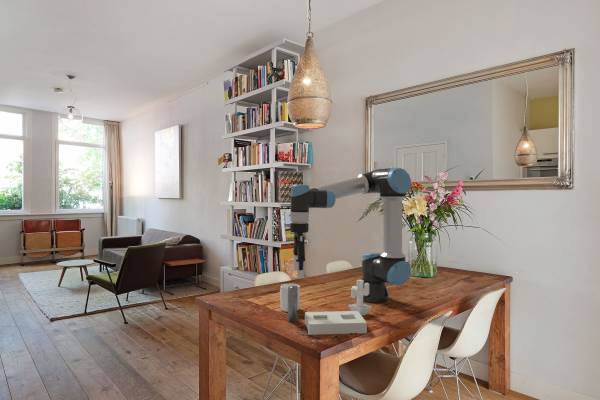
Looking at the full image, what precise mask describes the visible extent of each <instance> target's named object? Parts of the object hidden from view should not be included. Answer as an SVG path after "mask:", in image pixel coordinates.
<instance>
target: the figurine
mask: <svg viewBox="0 0 600 400" xmlns="http://www.w3.org/2000/svg"><path fill="white" fill-rule="evenodd" d="M363 284H364V281H363V280H362V279H357V280H356V285H353V286H352V287H351V289H350V298H352V299H355V298H356V303H352V304H348V305H347V306H348V308H349V309H350V310H349V311H358V312H359V313H360V315H361V316H362V317H363V316H366V315H368V314H369V311H370V310H371V309H372V305H368V304H367V303H364V301H363V295H364V296H368V295H369V283H365V288H363Z"/></svg>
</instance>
